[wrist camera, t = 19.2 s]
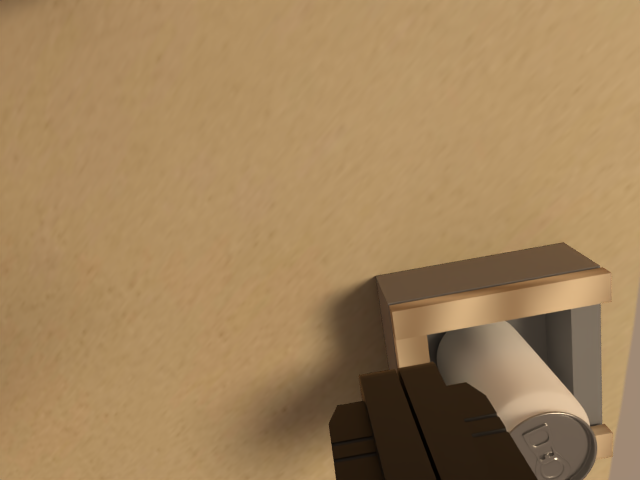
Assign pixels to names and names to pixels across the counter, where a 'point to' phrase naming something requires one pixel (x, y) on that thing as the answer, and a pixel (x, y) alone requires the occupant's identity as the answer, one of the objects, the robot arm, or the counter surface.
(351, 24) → the counter surface
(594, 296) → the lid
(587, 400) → the housing
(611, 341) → the counter surface
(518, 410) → the can
